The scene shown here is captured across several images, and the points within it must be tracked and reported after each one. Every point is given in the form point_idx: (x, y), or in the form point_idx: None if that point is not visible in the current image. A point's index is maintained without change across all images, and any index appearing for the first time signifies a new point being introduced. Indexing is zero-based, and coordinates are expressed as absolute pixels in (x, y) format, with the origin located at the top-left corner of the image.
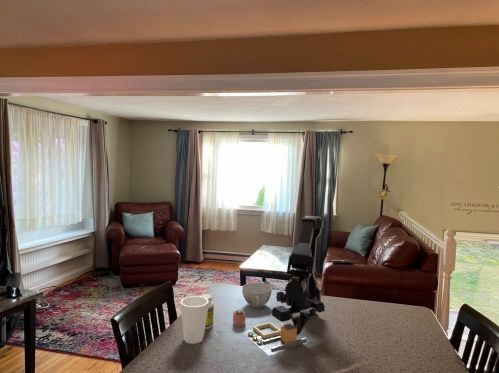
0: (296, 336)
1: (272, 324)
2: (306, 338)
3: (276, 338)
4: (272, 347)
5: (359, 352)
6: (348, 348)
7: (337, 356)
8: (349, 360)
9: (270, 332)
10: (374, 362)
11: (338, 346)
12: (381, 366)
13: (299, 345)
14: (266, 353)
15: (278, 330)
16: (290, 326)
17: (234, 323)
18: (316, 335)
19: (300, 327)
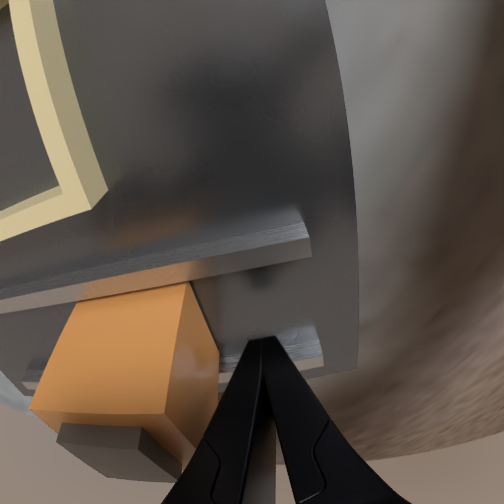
0: (217, 392)
1: (24, 15)
2: (322, 364)
3: (41, 303)
4: (27, 383)
5: (471, 402)
6: (470, 384)
7: (376, 427)
8: (393, 439)
9: (5, 138)
10: (447, 435)
11: (455, 373)
12: (442, 445)
13: (223, 386)
14: (11, 381)
15: (54, 199)
16: (136, 475)
17: None
18: (469, 249)
19: (272, 461)
